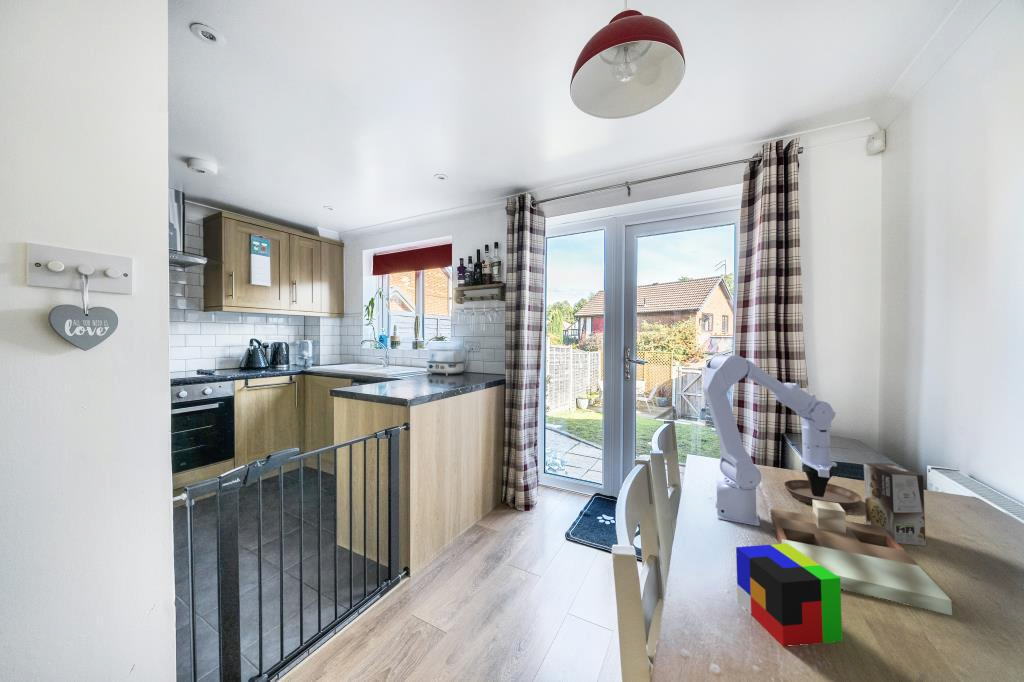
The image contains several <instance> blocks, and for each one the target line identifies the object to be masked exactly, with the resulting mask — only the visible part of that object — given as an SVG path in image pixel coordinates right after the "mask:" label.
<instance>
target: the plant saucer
mask: <svg viewBox="0 0 1024 682" xmlns="http://www.w3.org/2000/svg"><path fill="white" fill-rule="evenodd" d="M783 485H784V487H785V489H786V490H787V492H789V494H790V495H791V496H792V497H794V498H795V499H797V500H799V501H801V502H803V503H806V504H809V505H811V506H813V502H812V500H819V501H826V502H833V503H839V505H840V506H841V507H842V508H843V510H848V509H852V508H854V507H856V506H857V505H858V504H860V502H861V501H862V499H863V498H862V496H861V495H860V494H859V493H858V492H856V491H854V490H851V489H849V488H847V487H843V486H840V485H837V484H833V483H829V482H828V483H827V486H826V490H825V494H824V497H817V496H813V494H812V492H811V489H810V485H809V481H808V479H790V480H787V481H785V482H783Z"/></svg>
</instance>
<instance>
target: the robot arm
mask: <svg viewBox="0 0 1024 682" xmlns="http://www.w3.org/2000/svg"><path fill="white" fill-rule="evenodd" d="M704 369H705V375H704V379H703V385H702V391H703V394H704V397H705V401H706V404H707V407H708V410H709V413H710V416H711V420H712V423H713V425H714V429H715V432H716V435H717V439H718V441H719V445H720V448H721V450H720V452H718V455H719V458H720V459H719V469H720V472H721V473H722V474H723V475H724V476H723V477H724V480H717V481H716V500H715V509H716V510H717V511H716V513H717V519H719V520H724V521H730V522H734V523H738V524H739V523H741V524H745V525H751V526H755V527H756V526H757V527H760V526H761V524H760V520H759V516H758V515H759V514H758V512H757V487H758V486H759V485H760V484H761V482H762V473H761V471H760V470H759V469H758V467H756V465H755V464H754V460H753V458H752V457H751V456H750V454H749V453H748V452H747V450H746V449H745V447H744V443H743V439H742V437H741V434H740V431H739V428H738V425H737V422H736V419H735V415H734V413H733V409H732V407H731V403H730V400H729V396H728V392H729V390H730V389H731V387H732V386H734V385H735V384H736V383H738V382H739V381H741V380H742V379H743V378H744V379H749V380H750V381H752V382H754V383H755V384H757V385H759V386H761V387H763V388H765V389H767V390H768V391H770V392H772V393H773V396H774V399H775V400H776V401H778V402H779V403H780V404H782V405H785V407H787V408H789V409H790V410H792V411H794V412H795V413H796V416H798V417H800V419H801V422H800V423H801V442H802V443H801V445H802V446H801V447H802V449H801V450H802V458H801V463H802V464H804V465H802V466H801V468H802V469H803V471H804V473H805V475H806V478H807V480H808V481H809V485H810V489H811V492H812V494H813V496H817V497H824V494H825V490H826V486H827V483H829V481H830V479H831V478H832V477H833V473H832V472H831V468H832V467H837V466H838V465H837V463H836V462H835V461H831V436H830V434H831V433H830V432H831V431H830V429H831V428H832V422H833V420H834V419H835V418H836V412H835V411H834V409H833V407H832V405H831V404H830V403H829V402H827V401H824V400H823V401H822V400H819V399H817V397H816V395H815V394H813V393H808V392H807V391H806V390H803V389H802V388H800V387H801V385H800V384H798V383H796V382H795V383H794V382H781V381H780V380H778V378H776V377H774V376H772V375H771V374H769V373H768V372H766V371H765V370H763V369H762V368H761V367H759V366H758V365H756V364H755V363H754V362H752V361H750V360H748V359H745V357H742V356H740V355H735V354H734V355H727V354H726V355H725V354H715V355H714V356H712V357H710V358H709V360H708V361H707V363H706V364H705V366H704Z"/></svg>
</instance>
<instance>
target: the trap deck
mask: <svg viewBox="0 0 1024 682" xmlns="http://www.w3.org/2000/svg"><path fill="white" fill-rule="evenodd" d="M769 510H770V520H771V523H772V526H773V529H774V531H775V534H776V538H777V540H778V544H788V545H790V546H791V547H793V548H795V549H796V550H798V551H799V552H801V553H802V554H804V555H805V556H807V557H809V558H810V559H812V560H813V561H815V562H816V563H818V564H819V565H821V566H822V567H824V568H826V569H827V570H829V571H830V572H832V573H833V574H835V575H836V576H838V577H840V585H841V589H844V590H843V591H846V590H848V591H847V592H850V591H852V592H851V593H854V592H856V593H855V594H859V593H860V594H859V595H863V594H864V596H867V595H868V597H871V596H874V597H873V598H876V597H879V598H878V599H880V598H885V599H888V600H889V599H890V600H893V601H897V602H901V603H905V604H909V605H908V606H910V605H912V606H911V607H914V606H916V607H915V608H918V607H920V608H919V609H923V608H925V609H924V610H927V609H928V610H927V611H931V610H932V611H931V612H934V613H935V612H936V613H940V614H945V615H948V616H949V615H950V616H953V610H952V599H950V597H949V596H948V595H947V594H946V593H945V592H944V591H943V590H942V589H941V588H940V587H939V586H938V584H937V583H935V581H933V579H931V577H930V576H928V574H927V573H926V572H925V571H924V570H923V568H922V567H921V566H919V565H918V564H917V563H916V562H915V561H914V559H913V558H912V557H911V556H910V555H909V554H908V553H907V552H906V550H904V548H903V547H901V545H900V543H897V542H896V541H895V540H894V539H893V538H892V537H891V536H890V535H889V534H888V533H887V532H886V530H885V529H884V528H883V527H879V526H873V525H866V524H865V523H860V522H859V523H858V522H854V521H853V522H852V521H847V520H846V533H841V532H835V531H829V530H824V529H818V527H817V525H816V524H815V522H814V520H813V514H812V515H811V514H807V513H806V514H804V513H799V512H792V511H786V510H780V509H776V508H775V509H774V508H770V509H769ZM888 600H887V601H888ZM893 601H892V602H893ZM897 602H896V603H897ZM901 603H900V604H901ZM905 604H904V605H905Z"/></svg>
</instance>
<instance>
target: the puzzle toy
mask: <svg viewBox="0 0 1024 682" xmlns="http://www.w3.org/2000/svg"><path fill="white" fill-rule="evenodd" d="M735 551H736V552H735V553H736V554H735V555H736V583H737V585H736V587H737V589H736V590H737V593H736V594H737V602H738V604H740V605H741V607H742V608H743V609H745V608H746V609H747V610H748V611H747V610H746V609H745V610H746V611H747V613H749V614H750V613H751V614H750V616H751V617H753V618H754V620H755V621H756V622H757V623H758V624H759V625H760V626H761V627H762V628H763V629H764V630H765V631H766V632H768V633H769V635H771V636H772V638H774V640H775V641H777V642H778V644H780V646H781V647H783V648H785V647H784V646H788V645H800V644H810V645H816V644H815V643H821V644H826V643H825V642H831V643H834V642H833V641H841V642H843V627H842V626H843V623H842V622H843V620H842V618H843V617H842V616H843V615H842V594H841V593H842V590H841V585H840V577H838V576H836V575H835V574H833V573H832V572H830V571H829V570H827V569H826V568H824V567H822V566H821V565H819V564H818V563H816V562H815V561H813V560H812V559H810V558H809V557H807V556H805V555H804V554H802V553H801V552H799V551H798V550H796V549H795V548H793V547H791V546H790V545H788V544H780V543H776V544H762V545H749V546H748V545H746V546H736V547H735ZM800 646H801V645H800Z"/></svg>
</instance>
